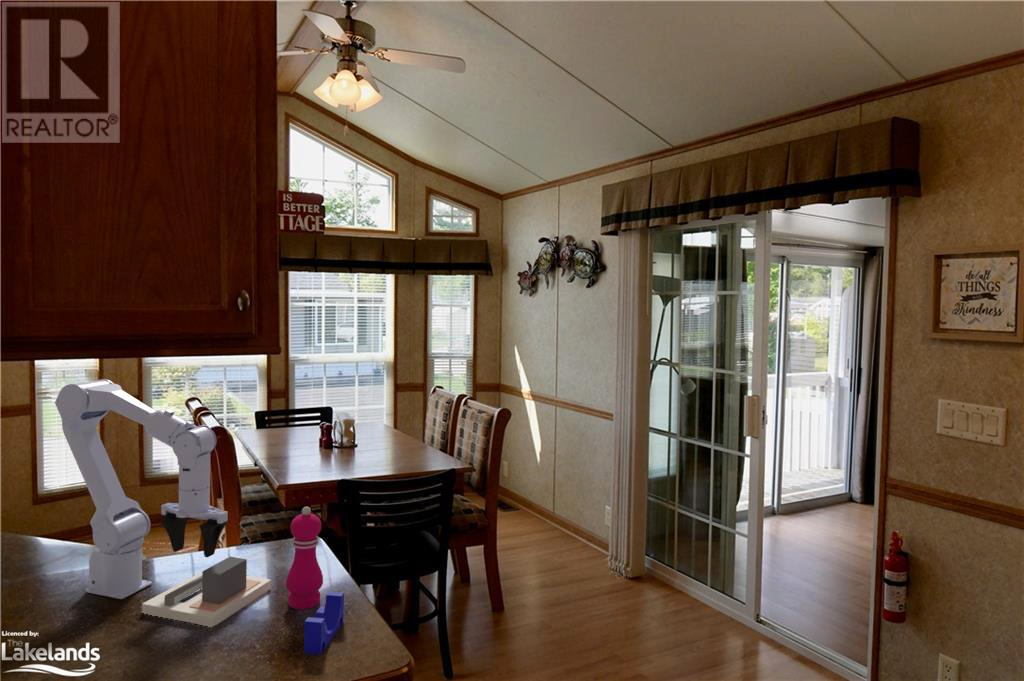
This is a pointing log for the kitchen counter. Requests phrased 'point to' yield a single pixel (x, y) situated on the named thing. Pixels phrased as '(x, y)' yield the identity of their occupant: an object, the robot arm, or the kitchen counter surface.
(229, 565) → the gray block
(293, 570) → the pepper mill
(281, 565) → the kitchen counter surface
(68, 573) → the kitchen counter surface
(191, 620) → the cream flat slotted block
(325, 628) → the cable clip
